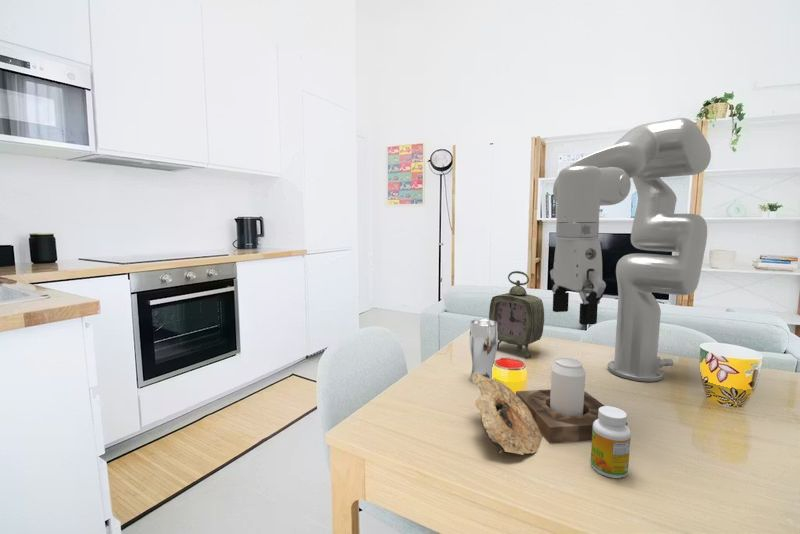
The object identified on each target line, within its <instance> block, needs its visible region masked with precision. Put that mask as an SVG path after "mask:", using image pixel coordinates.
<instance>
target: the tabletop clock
mask: <svg viewBox="0 0 800 534" xmlns="http://www.w3.org/2000/svg"><path fill="white" fill-rule="evenodd" d="M513 274H518V275H519V274H520V275H523V276H525V277H526V281H525V282H521V281H520V280H516V282H515V281H512V280H511V276H512V275H513ZM507 279H508V281H509V282H510V283H511V284H512V285H514V286H512V287H511V288H510V289H509V292H507V293H503V294H498V295H495V296H492V298H491V300H490V303H489V313H488V320H493V321H496V322H497V323H498V346H497V350H498V349H499V348H500V344H501V343H502V342H503V343H506V344H509V345H514V346H516V349H517V350H518V349H519V350H518V351H521V350H523V346H524V348H525V351H526V352H525V353H524V356H525V358H530V357H531V356H532V354H531V352H530V351H529V345H531V344H533V343H536V342H538V341H540V340H541V339H542V336H543V332H544V328H545V327H544V326H545V309H544V302H543V300H542V299H541V298H539V297H538V296H535V295H532V294H527V291H526V288H525V287H524V286H526V285H527V284H528V283H530V282H529V281H530V277H529V275H528V274H527V273H526V272H524V271H519V270H515V271H511V272H510V273H509V274H508V276H507Z"/></svg>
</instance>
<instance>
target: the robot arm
mask: <svg viewBox="0 0 800 534" xmlns="http://www.w3.org/2000/svg"><path fill="white" fill-rule="evenodd" d="M711 153H712V152H711V147H710V144H709V142H708V140H707V139H706V136H705V135H704V134H703V132H702V130H701V129H700V127H699V126H698V125H697V124H696V123H695V122H694V121H692V120H691V119H689V118H686V117H677V118H671V119H664V120H661V121H654V122H649V123H644V124H640V125H637V126H634V127H633V128H631V129H630V130H628V131H627V132H626V133H625V134H624V135H623V136H622V137H620V138H619V139H618V140H617V141H616V142H615V143H614V144H613V145H610V146H607V147H605V148H603V149H600V150H598V151H596V152H593V153H590V154H589V155H586V156H584V157H581V158H579V159H577V160H575V161H573V162H572V163H570V164H569V165H568V166H567V167H565V168H563V169H561V170H560V171H559V173H558V175H557V177H556V178H555V180H554V183H553V189H552V193H553V197H554V198H553V199H555V202H557V203H556V224H555V225H556V226H555V227H556V229H555V240H556V243H555V247H554V248H555V250H554V257H553V258H554V259H553V268H552V269H551V270H550V271H549V273H550V279H551V280H550V284H551V286H552V288H551V292H552V312H554V313H565V312H568V311H569V299H570V298H569V296H570V293H569V292H568V290H570V291H572V292H576V293H578V294H579V297H580V299H581V303H580V304H579V319H578V322H579V323H578V324H580V325H581V326H585V325H587V326H589V325H596V324H597V323H598V305H599V304H600V303H601V299H602V298H603V297H604V292H605V290H606V287H607V283H606V282H605V281H604V279H603V256H602V255H603V254H602V247H601V242H600V239H599V228H600V226H599V225H600V209H601V208H600V207H601V206H605V207H606V206H614V205H617V204H619V203H622V202H623V201H625V199H626V198H627V197H628V196H629V193H630V191H631V185H632V184H631V179H632V181H633V184H634V188H635V190H636V193H637V204H636V208H635V213H634V217H633V221H632V227H631V233H630V243H631V245H632V246H633V247H634V248H635V249H639V250H644V251H651V252H653V251H654V252H668V253H669V252H671V253H678V255H673V254H672V255H668V254H658V253H655V254H654V253H640V252H639V253H637V252H636V253H629V254H626V255H625V254H624V255H623V256H622V257H621V258H620V259H618V261H617V263H616V266H615V267H616V268H615V276H616V281H617V282H616V283H617V293H618V294H617V296H618V297H617V299H618V300H617V314H616V315H617V316H616V326H615V327H616V329H615V331H616V332H615V343H614V344H615V346H614V360H611V361H609V362H608V363H607V366H606V367H607V370H608V371H609V372H610V373H611V374H613V375H616V376H617V377H620V378H625V379H628V380H631V381H632V380H633V381H637V382H638V381H639V382H658V381H661V380H662V379H663V378H664V372H663V371H662V370H661V368H663V367H673V366H674V360H673V359H672V358H663V359H662V358H661V356H658V350H659V337H660V327H661V316H662V315H661V314H662V313H661V312H662V311H661V307H660V303H659V302H658V300H657V299H656V297H655V296H654V295H653V294H652V293H658V294H666V295H674V296H689V295H692V294H693V293H694V292H695V291H696V290H697V288H698V285H699V282H700V276H701V274H702V273H701V272H702V268H703V262H704V261H703V260H704V257H705V256H704V255H705V251H706V245H707V240H708V239H707V238H708V225H707V222H706V220H705V218H704V217H703V216H702V215H699V214H696V213H675V211H676V205H677V196H676V195H677V194H675V192H674V191H673V189H672V188H671V187H670V186H669V185H668V184H667V183H665V181H664V180H662V178H672V177H683V176H695V175H698V174H701V173H703V172H704V171H706V169H708V166H709V165H710V162H711V157H712V156H711V155H712V154H711ZM587 294H588V295H587Z"/></svg>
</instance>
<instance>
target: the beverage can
mask: <svg viewBox="0 0 800 534" xmlns="http://www.w3.org/2000/svg"><path fill="white" fill-rule="evenodd" d="M550 372H551V377H550V389H551V392H550V409H551V410H554V411H556V412H558V413H561V414H566V415H571V416H578V415H583V406H584V391H585V389H586V387H585V386H586V371H585V369H584V366H583V363H582V361H580V360H578V359H576V358H570V357H559V358H556V359H555V362H554V364H553V365H552V367H551V371H550Z"/></svg>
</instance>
